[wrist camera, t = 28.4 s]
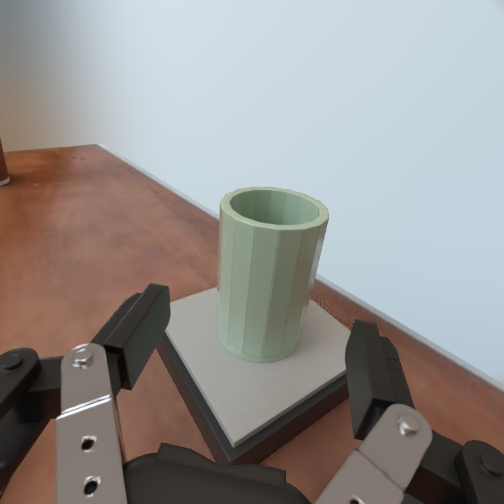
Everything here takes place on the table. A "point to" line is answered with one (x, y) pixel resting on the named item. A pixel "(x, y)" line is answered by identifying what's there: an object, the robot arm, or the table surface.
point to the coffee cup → (3, 167)
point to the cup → (266, 269)
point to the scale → (252, 380)
